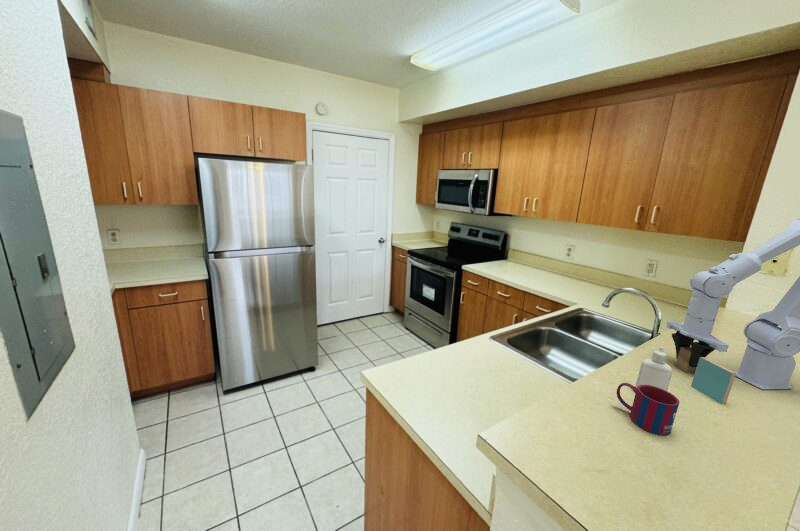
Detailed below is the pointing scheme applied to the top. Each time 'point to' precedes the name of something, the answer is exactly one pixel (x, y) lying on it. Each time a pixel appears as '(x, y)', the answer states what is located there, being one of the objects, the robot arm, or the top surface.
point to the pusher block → (684, 360)
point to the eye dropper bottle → (655, 371)
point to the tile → (713, 380)
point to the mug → (652, 408)
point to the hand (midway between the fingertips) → (686, 362)
